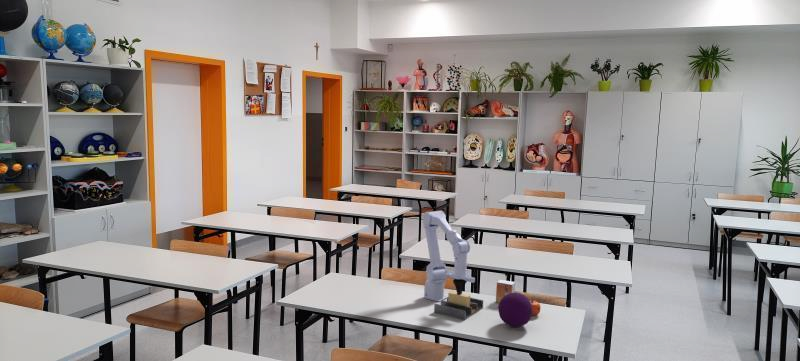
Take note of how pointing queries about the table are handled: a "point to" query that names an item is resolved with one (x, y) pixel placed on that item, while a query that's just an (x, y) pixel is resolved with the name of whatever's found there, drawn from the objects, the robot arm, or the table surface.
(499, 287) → the small box
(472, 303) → the rack
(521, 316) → the toy ball
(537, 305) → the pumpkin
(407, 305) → the table surface
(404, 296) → the table surface
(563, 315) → the table surface
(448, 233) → the robot arm
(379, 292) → the table surface
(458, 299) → the tan rectangular block
